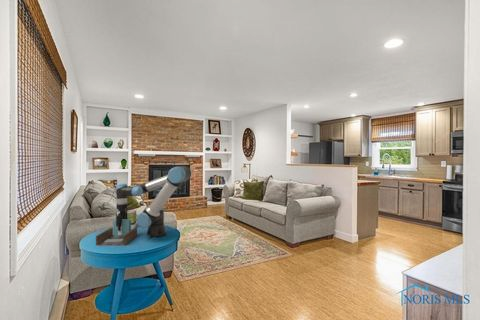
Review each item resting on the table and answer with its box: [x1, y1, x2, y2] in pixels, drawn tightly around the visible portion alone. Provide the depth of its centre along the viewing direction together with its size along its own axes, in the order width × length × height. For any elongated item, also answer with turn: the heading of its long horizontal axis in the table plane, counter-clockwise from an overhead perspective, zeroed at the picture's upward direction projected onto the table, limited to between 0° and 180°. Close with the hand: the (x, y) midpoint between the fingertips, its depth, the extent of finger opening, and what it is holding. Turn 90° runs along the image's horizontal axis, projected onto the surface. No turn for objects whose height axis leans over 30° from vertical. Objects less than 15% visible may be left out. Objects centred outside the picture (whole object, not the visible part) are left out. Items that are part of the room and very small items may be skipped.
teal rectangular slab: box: [112, 218, 132, 237], centre depth 186 cm, size 12×3×15 cm, turn 90°
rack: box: [95, 226, 138, 247], centre depth 180 cm, size 20×20×8 cm
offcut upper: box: [103, 239, 123, 244], centre depth 174 cm, size 12×5×2 cm, turn 96°
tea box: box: [116, 209, 137, 230], centre depth 216 cm, size 15×10×15 cm
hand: (122, 233), depth 186 cm, fingers open, 6 cm apart
